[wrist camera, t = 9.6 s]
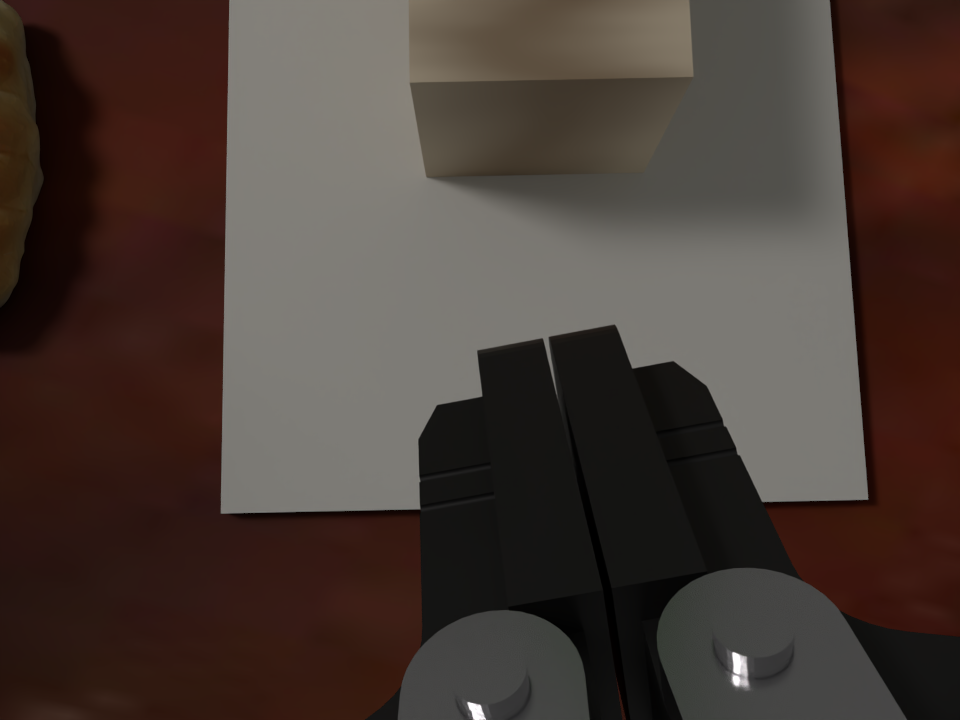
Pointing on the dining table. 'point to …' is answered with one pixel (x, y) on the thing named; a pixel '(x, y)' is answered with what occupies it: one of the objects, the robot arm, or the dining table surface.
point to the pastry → (16, 148)
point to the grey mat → (524, 256)
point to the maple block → (546, 83)
